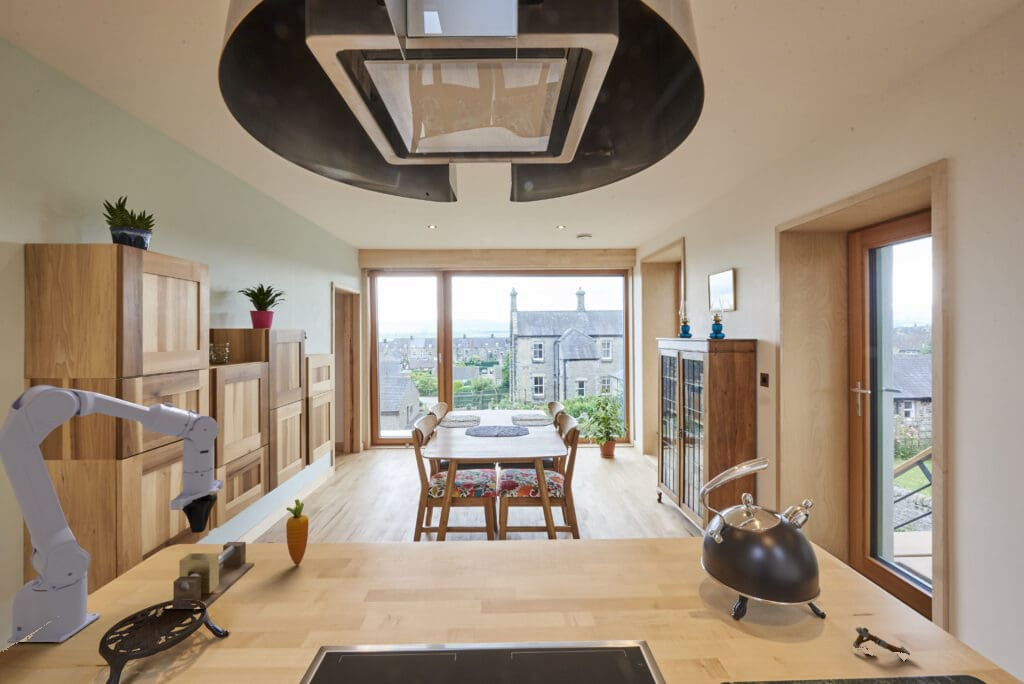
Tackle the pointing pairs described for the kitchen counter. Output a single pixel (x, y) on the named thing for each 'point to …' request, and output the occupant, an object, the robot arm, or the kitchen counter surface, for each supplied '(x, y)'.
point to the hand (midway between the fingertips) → (198, 531)
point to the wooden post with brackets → (875, 641)
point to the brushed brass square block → (202, 569)
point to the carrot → (297, 533)
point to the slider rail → (227, 577)
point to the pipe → (222, 557)
